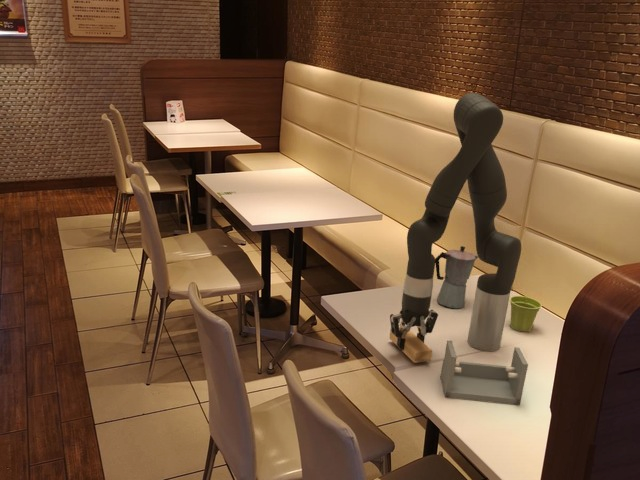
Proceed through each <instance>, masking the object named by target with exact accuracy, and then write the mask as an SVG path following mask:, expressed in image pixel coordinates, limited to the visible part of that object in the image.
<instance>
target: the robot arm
mask: <svg viewBox="0 0 640 480" xmlns="http://www.w3.org/2000/svg"><path fill="white" fill-rule="evenodd" d="M453 121H454V126H455V128H456V132H457V135H458V138H459V141H460V145H461V147H460V149H459V151H458V153H457V154H456V156H455V157H454V158H453V159H452V160H451V161H450V162H449V163H447V164H446V166H444V167H443V168H442V169H441V170H440V171H439V172H438V174H437V175H436V177H435V178H434V180H433V182H432V185H431V186H430V189H429V191H428V193H427V195H426V198H425V201H424V207H425V211H424V213H423V215H422V217H421V218H420V219H418V220H415V221H414V222H413V223H411V225H410V226H409V228H408V232H407V236H406V243H407V244H406V246H407V248H406V249H407V255H408V256H407V257H408V261H407V266H406V275H405V278H404V282H403V291H402V298H401V309H400V311H399V313H397V314H393V313H391V314H390V315H389V320H390V329H391V331H392V333H393V334H394V335H395V336H396V337H398V339H397V345H396V346H397V347H398V349H399V350H400V351H402V350H404V346H405V340H406V338H405V336H406V334H407V332H409V331H411V329H412V328H413V327H417V333H416V336H417V337H418V338H419V339H420V340H421V341H422V342H423V343H425V339H426V336H427V334H432V332H433V330H434V327H435V324H436V323H437V319H438V316H439V314H438V313H437V312H436V311H435V310H434V309H431V303H432V295H433V287H434V275H435V270H436V263H435V259H436V257H435V256H434V254H433V253H432V251H433V244H435V243H436V242H438V241H439V240H440V239H441V238H442V236H444V233H445V231H446V229H447V226H448V222H449V220H450V215H451V212H452V210H453V208H454V206H455V204H456V202H457V200H458V198H459V196H460V194H461V192H462V190H463V188H464V185H465V184H466V181H467V187H468V192H469V193H468V194H469V199H470V201H471V209H472V212H473V219H474V220H473V221H474V232H475V236H474V237H475V249H476V255H477V256H478V258H479V260H480V261H482V262H483V263H486V264H487V265H488V264H489V265H490V266H493V267H496V268H497V270H496V272H495V273H491V272H490V273H483V274H481V275H479V276H478V278H477V283H476V287H475V288H476V289H475V294H474V299H473V307H472V311H471V318H470V324H469V329H468V333H467V334H468V335H467V340H466V341H467V343H468V344H469V346H470V347H472V348H474V349H477V350H480V351H484V352H494V351H498V350H499V349H500V348H501V342H502V338H503V333H504V328H505V322H506V317H507V312H508V307H509V302H510V298H511V296H510V295H511V291H512V286H513V285H514V281H515V278H516V274H517V269H518V265H519V263H520V259H521V254H522V242H521V240H520V239H519V238H518V237H516V236H512V235H509V234H506V233H503V232H500V231H498V230H497V229H496V225H495V218H496V217H497V215H498V214H499V213H500V212H501V210H502V208H503V207H504V206H505V203H506V201H507V199H508V198H507V197H508V191H507V183H506V177H505V173H504V172H505V171H504V169H503V168H502V165H501V162H500V160H499V158H498V155H497V154H496V152H495V150H494V149H495V148H494V147H493V145H492V144H493V142H494V141H495V140H496V137H497V136H498V134H499V133H500V130H501V128H502V126H503V123H504V114H503V112H502V110H501V109H500V108H499V107H498V106H497V105H496V104H495V103H494V102H492V101H491V100H490V99H488V98H487V97H485V96H483V95H481V94H480V93H479V94H478V93H476V92H469V93H465V94H464V95H462V96H461V97H460V98H459V99H458V101H456V104H455V107H454V109H453ZM425 320H426V321H425Z"/></svg>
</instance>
